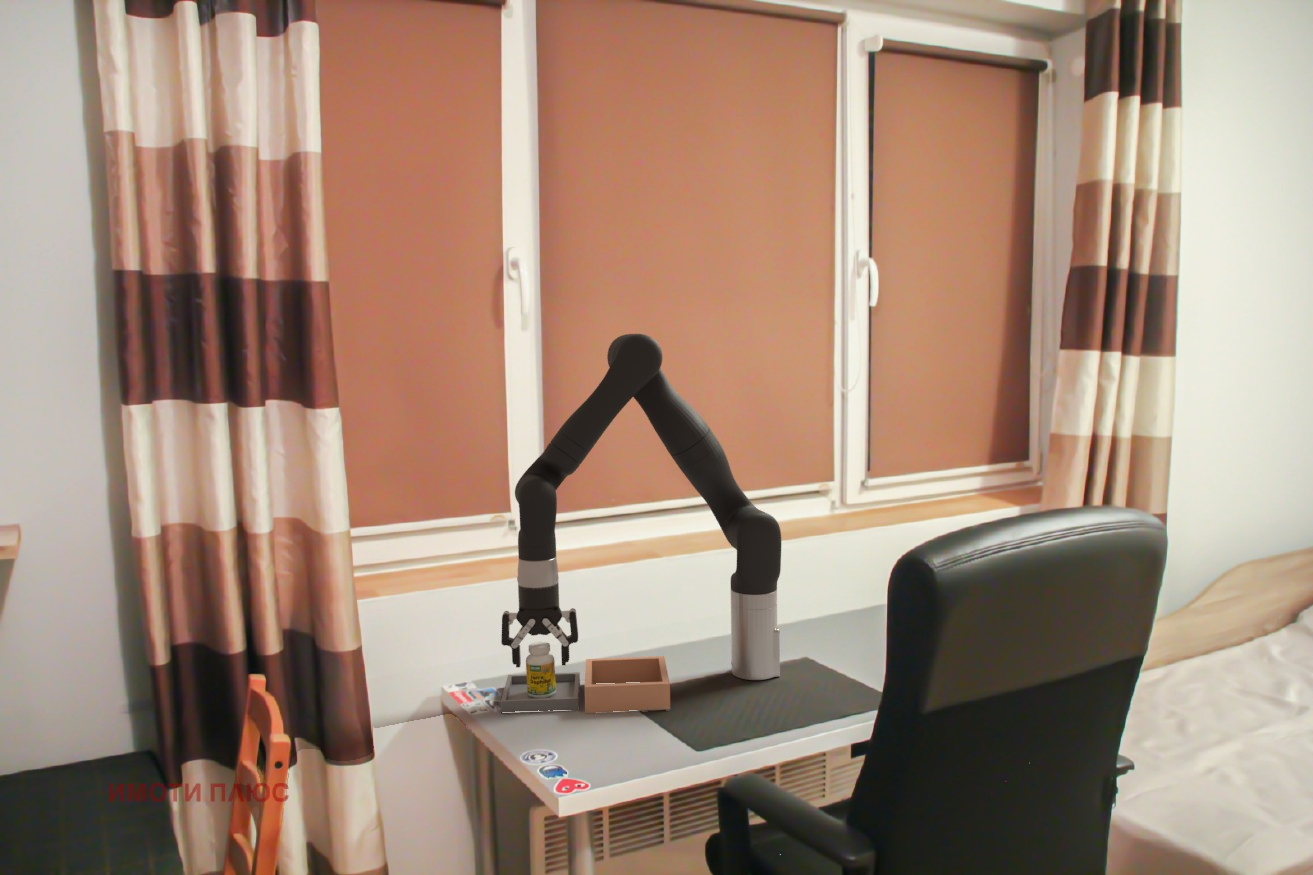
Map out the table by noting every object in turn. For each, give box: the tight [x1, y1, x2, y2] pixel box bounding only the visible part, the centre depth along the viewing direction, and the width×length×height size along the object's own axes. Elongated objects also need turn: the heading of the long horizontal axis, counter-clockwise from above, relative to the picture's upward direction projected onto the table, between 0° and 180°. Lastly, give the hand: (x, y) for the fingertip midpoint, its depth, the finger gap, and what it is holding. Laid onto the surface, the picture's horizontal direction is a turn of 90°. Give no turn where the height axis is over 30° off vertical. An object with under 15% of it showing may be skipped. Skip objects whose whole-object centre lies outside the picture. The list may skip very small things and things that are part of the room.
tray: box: [500, 671, 581, 713], centre depth 181 cm, size 14×14×2 cm
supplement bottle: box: [525, 641, 556, 698], centre depth 180 cm, size 5×5×10 cm
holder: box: [584, 655, 671, 714], centre depth 181 cm, size 15×15×5 cm
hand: (541, 665), depth 180 cm, fingers open, 8 cm apart
